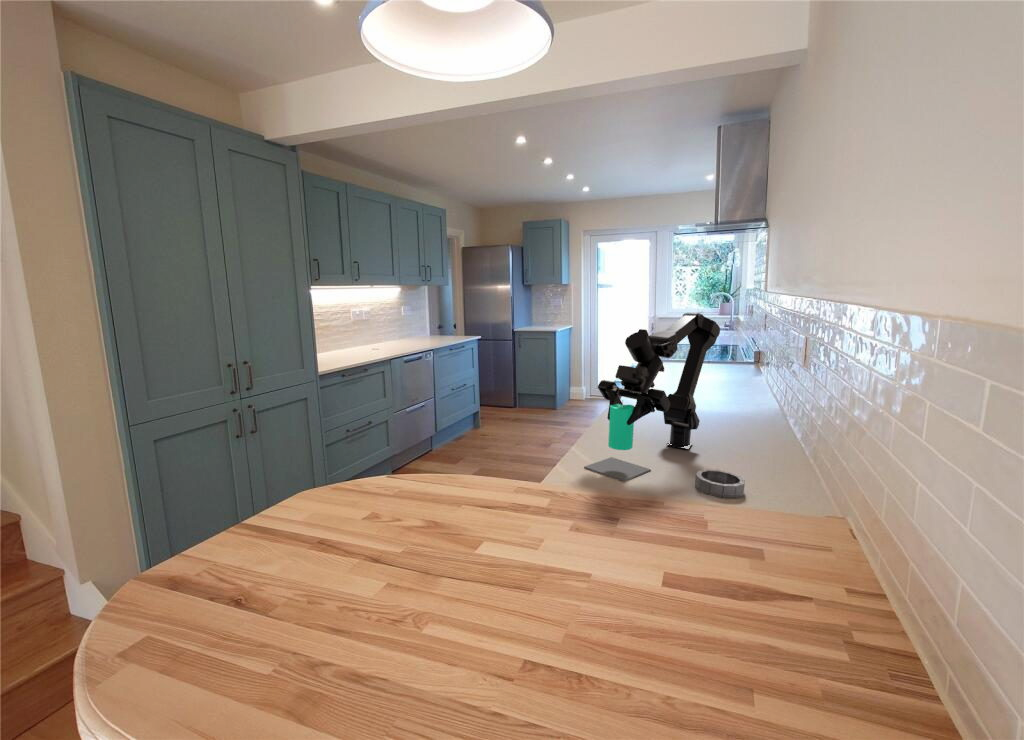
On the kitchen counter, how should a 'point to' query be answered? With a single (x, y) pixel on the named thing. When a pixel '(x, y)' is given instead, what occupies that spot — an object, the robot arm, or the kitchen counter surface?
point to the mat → (617, 469)
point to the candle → (620, 427)
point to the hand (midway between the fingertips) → (617, 421)
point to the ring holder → (720, 484)
